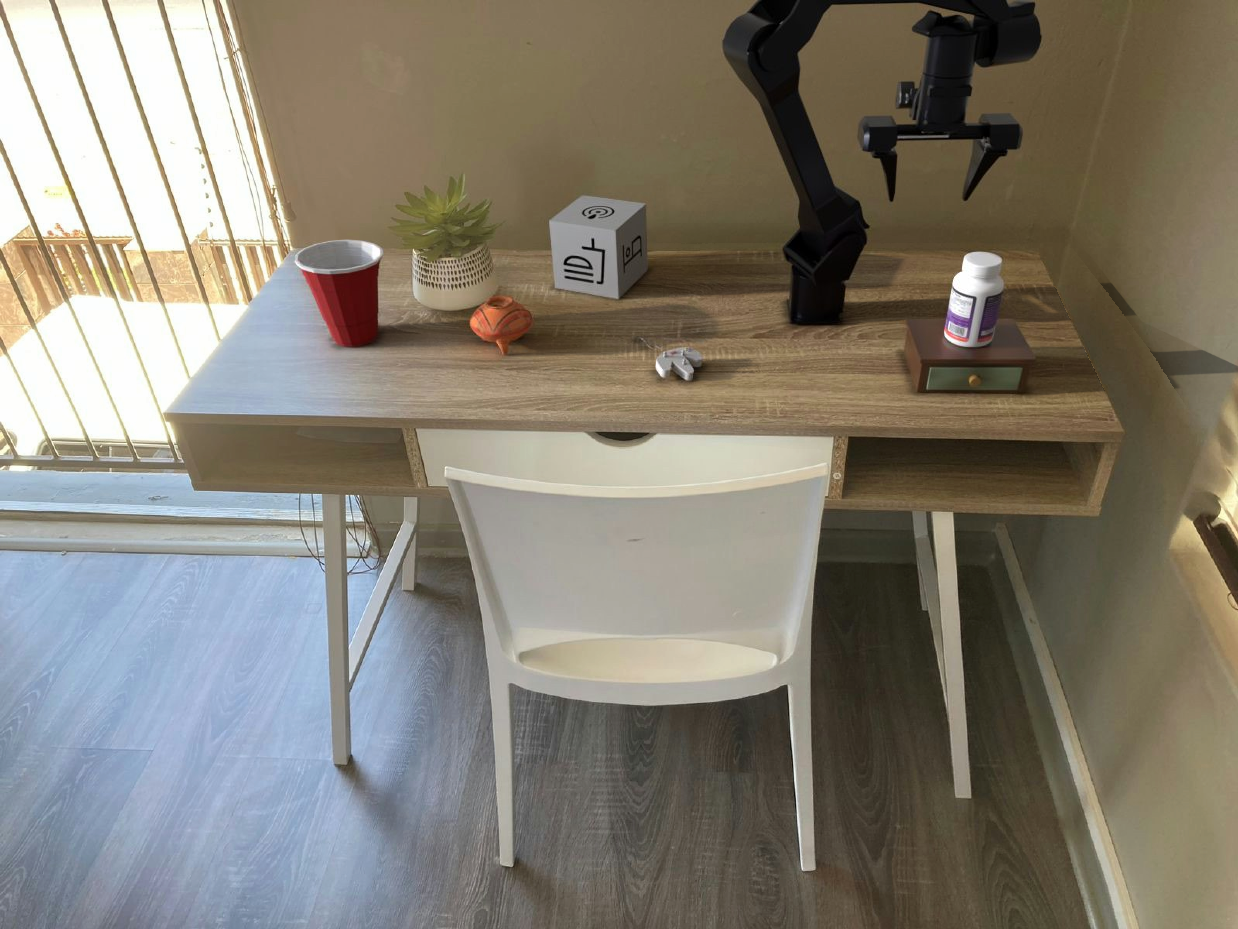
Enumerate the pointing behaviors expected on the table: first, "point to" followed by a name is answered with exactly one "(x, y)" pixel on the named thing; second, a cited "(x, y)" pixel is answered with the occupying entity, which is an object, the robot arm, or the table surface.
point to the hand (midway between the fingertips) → (927, 200)
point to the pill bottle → (975, 300)
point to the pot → (501, 321)
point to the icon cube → (599, 246)
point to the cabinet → (967, 360)
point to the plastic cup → (344, 287)
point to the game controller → (678, 362)
